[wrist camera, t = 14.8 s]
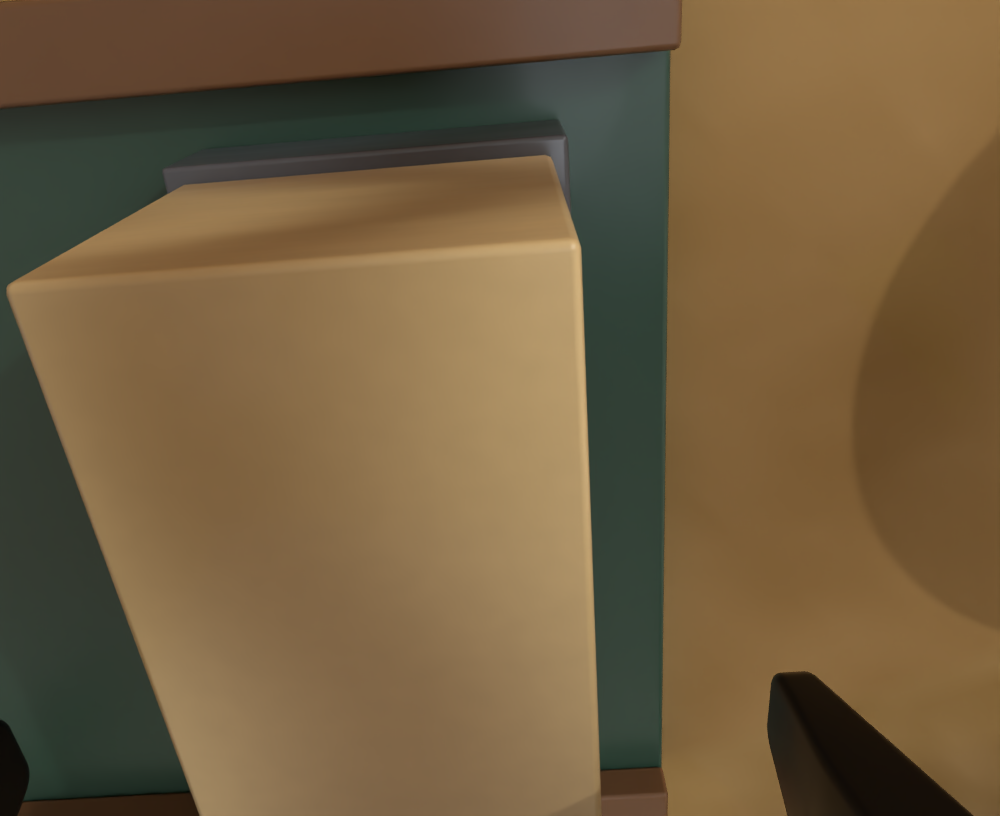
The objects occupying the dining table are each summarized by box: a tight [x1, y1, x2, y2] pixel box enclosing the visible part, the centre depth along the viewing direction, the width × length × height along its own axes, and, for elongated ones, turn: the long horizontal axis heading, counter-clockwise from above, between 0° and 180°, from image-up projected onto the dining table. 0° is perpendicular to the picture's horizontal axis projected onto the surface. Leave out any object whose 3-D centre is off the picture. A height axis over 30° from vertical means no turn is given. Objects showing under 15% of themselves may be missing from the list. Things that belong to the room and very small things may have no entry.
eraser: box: [6, 120, 602, 816], centre depth 11 cm, size 5×12×6 cm, turn 5°
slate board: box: [0, 0, 682, 816], centre depth 14 cm, size 22×16×2 cm
